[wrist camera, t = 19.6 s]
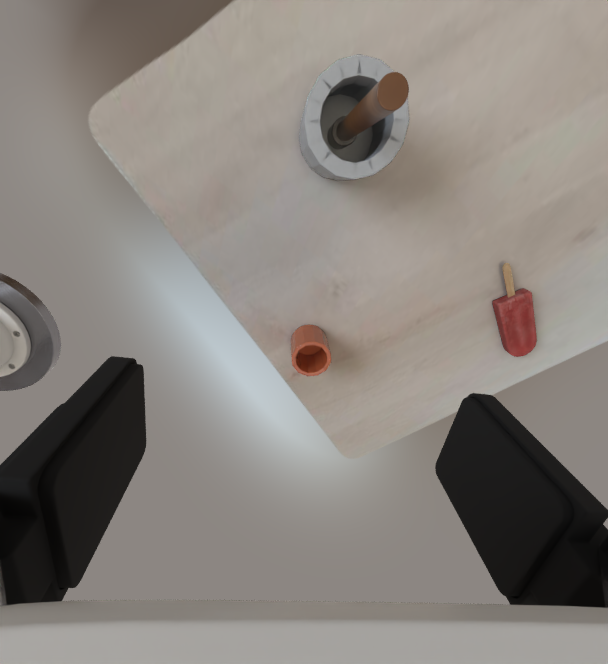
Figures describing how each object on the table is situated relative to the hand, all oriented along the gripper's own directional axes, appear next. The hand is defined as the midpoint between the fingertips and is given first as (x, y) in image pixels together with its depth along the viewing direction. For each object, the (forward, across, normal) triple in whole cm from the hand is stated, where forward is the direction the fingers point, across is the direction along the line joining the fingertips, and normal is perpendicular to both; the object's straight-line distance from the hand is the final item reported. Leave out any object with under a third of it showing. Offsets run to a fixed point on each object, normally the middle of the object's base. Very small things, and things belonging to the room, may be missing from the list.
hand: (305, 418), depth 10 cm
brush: (+34, -4, -12) cm, 36 cm away
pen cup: (+35, -5, +14) cm, 38 cm away
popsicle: (+35, -33, +5) cm, 48 cm away
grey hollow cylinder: (+35, -4, -12) cm, 37 cm away
